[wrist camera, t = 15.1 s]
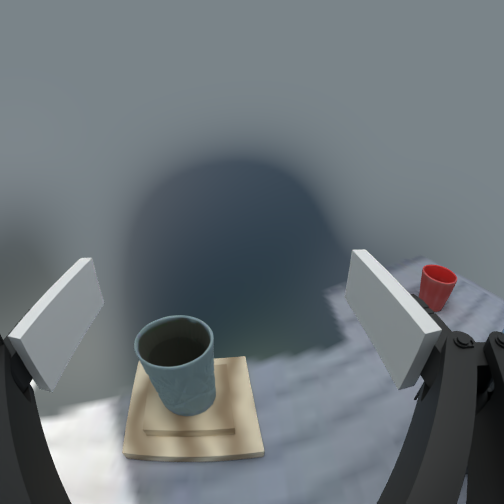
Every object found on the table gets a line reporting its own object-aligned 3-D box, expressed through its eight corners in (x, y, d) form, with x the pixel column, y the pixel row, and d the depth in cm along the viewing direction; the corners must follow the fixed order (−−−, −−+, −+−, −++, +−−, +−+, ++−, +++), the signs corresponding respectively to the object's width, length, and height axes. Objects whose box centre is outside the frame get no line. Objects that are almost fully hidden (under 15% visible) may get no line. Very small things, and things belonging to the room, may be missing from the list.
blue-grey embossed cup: (227, 377, 41) (221, 319, 36) (212, 428, 31) (200, 374, 27) (168, 367, 42) (153, 310, 37) (146, 412, 33) (120, 357, 28)
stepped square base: (245, 363, 49) (244, 348, 47) (263, 456, 30) (264, 445, 29) (141, 368, 46) (136, 353, 44) (127, 458, 28) (117, 447, 26)
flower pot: (452, 305, 61) (462, 275, 57) (437, 320, 56) (449, 287, 52) (424, 290, 69) (432, 260, 66) (407, 302, 65) (416, 270, 61)
